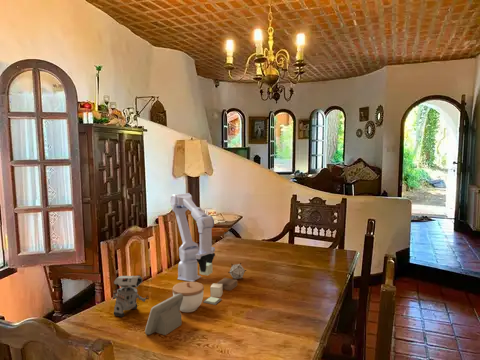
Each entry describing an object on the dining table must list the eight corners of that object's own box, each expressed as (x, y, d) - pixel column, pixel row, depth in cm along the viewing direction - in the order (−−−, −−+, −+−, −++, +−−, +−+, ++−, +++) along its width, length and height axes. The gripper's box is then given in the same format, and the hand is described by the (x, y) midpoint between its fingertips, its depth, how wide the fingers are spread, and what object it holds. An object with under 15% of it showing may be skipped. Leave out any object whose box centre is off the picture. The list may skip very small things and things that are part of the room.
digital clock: (175, 316, 136) (175, 289, 136) (190, 323, 130) (190, 296, 130) (139, 332, 124) (138, 302, 123) (154, 340, 118) (153, 310, 117)
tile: (202, 302, 149) (202, 300, 149) (209, 297, 154) (209, 295, 154) (215, 305, 146) (215, 303, 146) (221, 299, 152) (221, 298, 152)
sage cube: (199, 274, 164) (199, 264, 164) (204, 271, 168) (204, 262, 168) (207, 275, 163) (207, 266, 162) (212, 272, 167) (212, 263, 166)
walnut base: (217, 288, 165) (217, 282, 165) (224, 283, 172) (224, 277, 171) (230, 291, 162) (230, 284, 162) (237, 286, 169) (237, 280, 168)
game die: (239, 287, 176) (243, 276, 169) (224, 280, 177) (227, 268, 171) (245, 274, 182) (249, 262, 176) (231, 267, 184) (234, 255, 178)
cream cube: (210, 296, 155) (210, 287, 155) (212, 293, 159) (212, 283, 159) (220, 297, 154) (220, 287, 154) (222, 293, 159) (222, 283, 158)
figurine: (134, 320, 133) (133, 282, 132) (110, 315, 137) (109, 277, 136) (149, 310, 141) (148, 274, 140) (126, 305, 145) (125, 270, 144)
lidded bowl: (178, 318, 135) (177, 290, 134) (168, 305, 146) (168, 279, 145) (208, 311, 140) (208, 284, 140) (197, 299, 152) (197, 275, 151)
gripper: (205, 246, 156) (205, 276, 157) (220, 239, 169) (220, 266, 170) (191, 244, 159) (192, 273, 160) (207, 237, 172) (207, 264, 173)
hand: (205, 270), depth 165 cm, fingers closed on sage cube, 4 cm apart
